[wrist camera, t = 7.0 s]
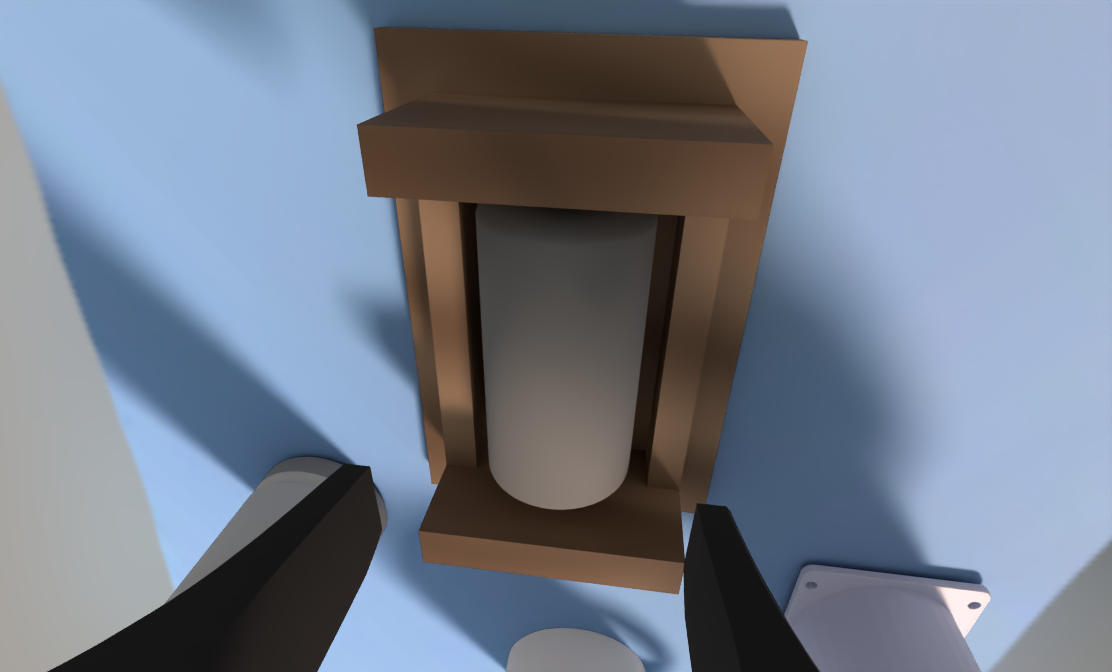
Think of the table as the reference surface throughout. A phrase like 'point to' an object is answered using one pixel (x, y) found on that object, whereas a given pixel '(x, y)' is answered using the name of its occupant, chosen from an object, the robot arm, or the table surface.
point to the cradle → (588, 184)
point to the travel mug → (266, 511)
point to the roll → (562, 346)
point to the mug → (571, 653)
